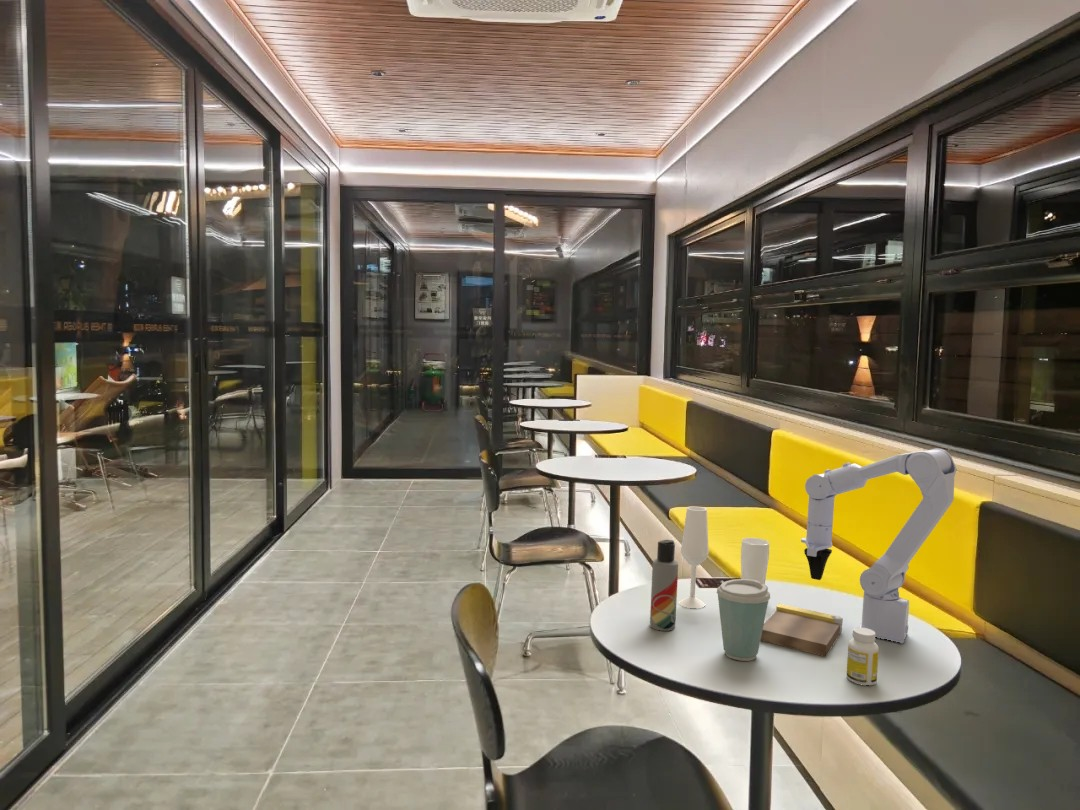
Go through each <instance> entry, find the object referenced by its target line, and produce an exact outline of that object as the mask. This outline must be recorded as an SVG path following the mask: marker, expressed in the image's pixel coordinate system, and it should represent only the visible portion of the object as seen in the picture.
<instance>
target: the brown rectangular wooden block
mask: <svg viewBox="0 0 1080 810" xmlns="http://www.w3.org/2000/svg"><path fill="white" fill-rule="evenodd" d="M840 634H841V633H840V624H836V623H832V622H828V621H823V620H819V619H814V618H810V617H805V616H801V615H796V614H792V613H787V612H783V611H778V610H777V611H776V610H775V612H773V613H772V615H771V616H770V617H768V619H767V620H765V621H764V625H763V630H762V635H761V640H760V642H765V643H769V644H773V645H776V646H777V645H778V646H781V647H786V648H789V649H793V650H797V651H800V652H801V651H802V652H806V653H809V654H814V655H818V656H822V657H824V658H825V657H827V655H828V653H829V652H830V651H831V649H832V648H831V647H834V645H833V644H835V643H836V641H837V640H838V638H839V637H838V636H840ZM836 639H837V640H836Z"/></svg>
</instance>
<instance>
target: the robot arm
mask: <svg viewBox="0 0 1080 810" xmlns="http://www.w3.org/2000/svg"><path fill="white" fill-rule="evenodd" d="M956 472H957V466H956V464H955V462H954V460H953V457H952V455H951V454H950V453H949V452H948V451H947V450H945V449H942V448H937V447H936V448H931V449H929V450H919V451H912V452H906V453H901V454H895V455H893V456H890V457H887V458H884V459H881V460H878V461H876V462H873V463H870V464H867V465H863V466H861V465H859V464H857V463H851V462H846V463H843V464H842V466H841V467H838V468H835V469H832V470H831V468H830V469H825V470H824V473H819V474H813V475H812V476H810V477H808V478H807V479H806V481H805V483H804V484H805V485H804V489H805V492H806V494H807V495H808V505H807V523H806V537H802V538H801V539H800V542H801V543H804V544H805V545H806V548H804V549H803V552H804V556H805V557H806V560H807V562H808V563H807V564H808V566H809V573H810V579H811V580H816V581H821V580H822V578H823V576H824V575H823V574H824V572H825V568H826V565H827V562H828V559H829V558H830V556H831V554H832V553H833V550H832V549H830V548H832V547H833V542H832V541H833V526H834V523H833V522H834V511H835V510H834V509H835V499H836V495H841V494H844V493H847V492H851V491H854V490H857V489H861V488H863V487H865V486H866V484H867V482H868V480H871V479H875V478H879V477H882V476H887V475H889V474H892V473H893V474H894V473H900V474H902V475H905V476H907V475H909V476H910V477H911V479H912V480H913V481H914V483H915V484H916V485H917V487H918V488H919V489H920V492H921V495H922V499H921V501H919V504H918V505H917V507H916V508H915V510H914V511H913V512H912V513H911V515H910V517H909V518H908V519H907V521H906V523H904V525H903V527H902V528H901V529H900V531H899V532H898V533H897V535H896V537H894V539H893V541H892V542H891V544H890V545H889V547H888V548H887V549H886V551H885V553H884V554H882V555H881V556H880V557H879V558H878V559H877V560H876V561H875V562H874V563H873V564H872V566H871V567H869V568H867V569H865V570H863V571H862V573H860V575H859V576H860V577H859V584H860V587H861V590H862V591H863V596H862V597H863V602H862V611H861V612H862V613H861V623H860V625H859V627H861V628H867V629H871V630H873V631H874V632H875V634H876V635H875V637H877V638H876V639H880V638H881V639H880V640H884V639H887V640H886V641H888V640H891V641H890V642H893V641H896V642H895V643H897V642H900V643H899V644H904V642H905V640H904V639H906V638H907V637H906V636H907V635H906V634H908V633H909V632H908V631H909V614H910V613H909V611H910V601H909V600H908V599H905V598H903V597H900V592H899V589H900V588H901V587H902V586H903V585H904V583H905V579H906V573H907V572H908V570H909V568H910V567H909V564H910V562H911V561H912V560H913V558H914V557H915V555H917V552H918V551H919V549H920V548H921V547H922V546H923V544H924V543H925V541H926V540H927V539H928V538H929V536H930V534H931V533H932V532H933V530H934V528H935V527H936V526H937V525H938V523H940V521H941V519H942V518H943V516H944V515H945V513H946V512H947V510H949V508H950V506H951V505H953V504H952V503H953V501H954V499H955V497H954V495H955V494H954V493H955V476H956Z"/></svg>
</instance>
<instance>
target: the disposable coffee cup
mask: <svg viewBox="0 0 1080 810" xmlns="http://www.w3.org/2000/svg"><path fill="white" fill-rule="evenodd" d="M716 589H717V590H716V593H717V599H718V607H719V617H720V627H721V629H720V630H721V637H722V646H723V650H724V653H725V655H726V657H727V658H730V659H732V660H735V661H741V662H743V661H744V662H750V661H754V660H755V659H756V657H757V655H758V654H759V650H760V649H759V648H760V645H761V644H760V643H761V635H762V630H763V625H764V623H765V621H766V620H765V619H766V614H767V609H768V604H769V601H770V599H771V593H770V592H769V590H768V589H769V587H768V585H766V583H765V584H764V583H762V582H759V581H756V580H750V579H742V578H738V579H730V580H726V581H723V582H722V583H721V584H720V585H719V586H718V587H717V588H716Z"/></svg>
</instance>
